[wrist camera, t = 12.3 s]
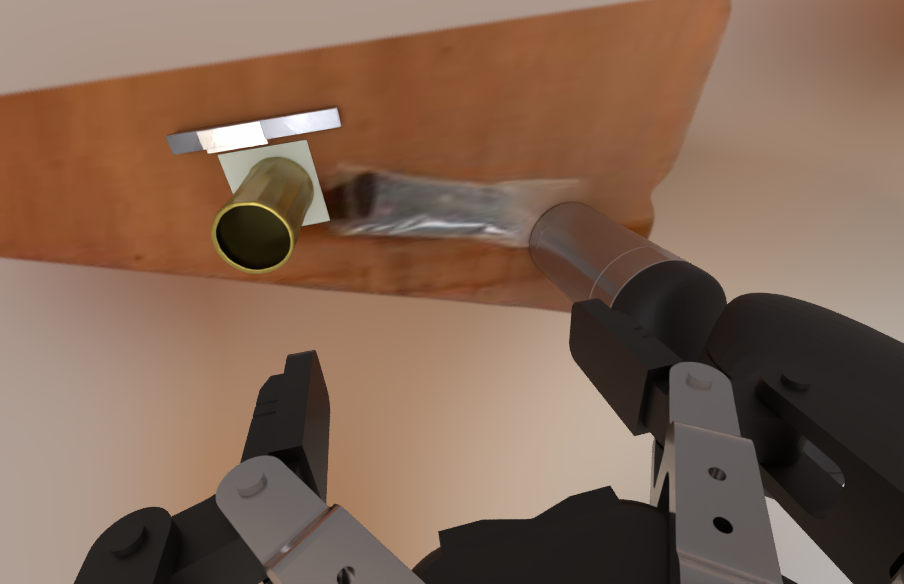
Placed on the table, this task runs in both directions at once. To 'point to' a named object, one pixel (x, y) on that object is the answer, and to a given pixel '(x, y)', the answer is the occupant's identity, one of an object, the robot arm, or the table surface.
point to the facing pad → (297, 151)
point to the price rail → (252, 131)
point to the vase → (263, 216)
